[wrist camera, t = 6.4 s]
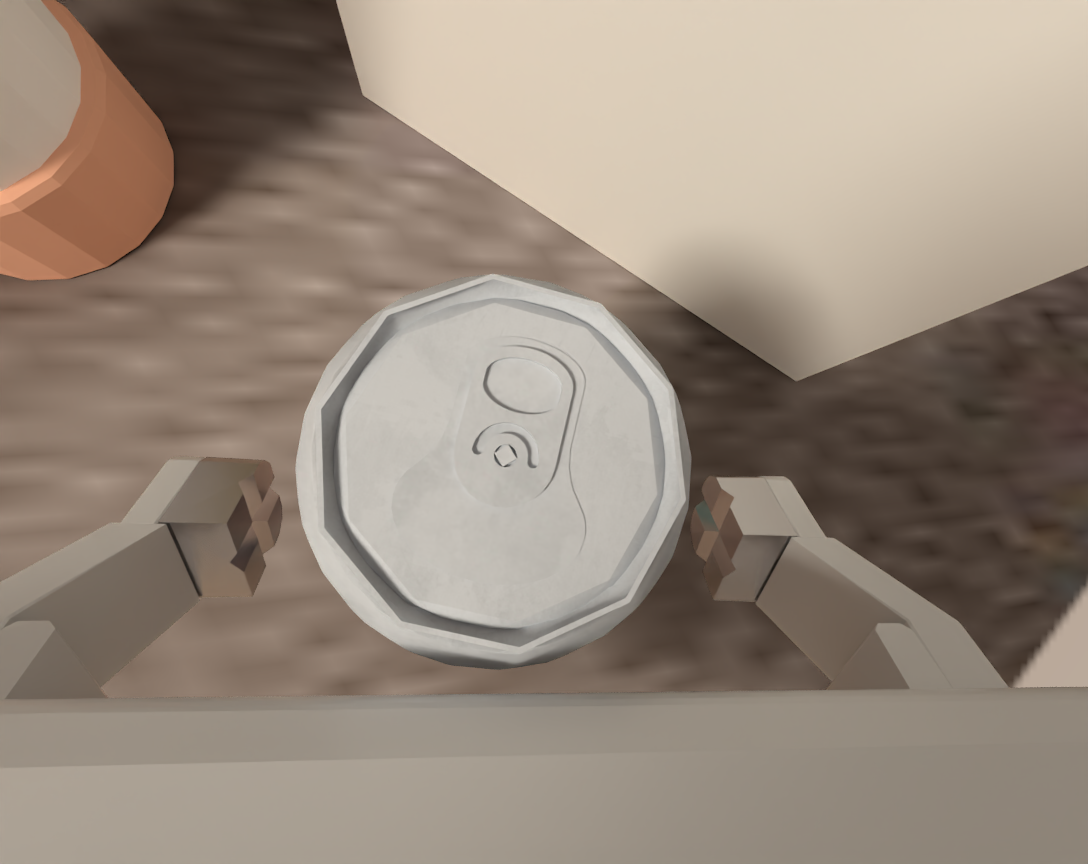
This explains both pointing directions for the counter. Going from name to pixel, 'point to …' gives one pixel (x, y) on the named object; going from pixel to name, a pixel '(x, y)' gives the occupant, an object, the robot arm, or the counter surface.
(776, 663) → the counter surface
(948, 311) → the recycling bin
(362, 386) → the beer can
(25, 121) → the pepper shaker
